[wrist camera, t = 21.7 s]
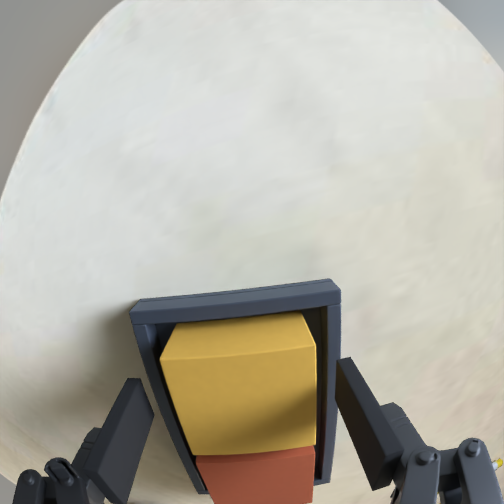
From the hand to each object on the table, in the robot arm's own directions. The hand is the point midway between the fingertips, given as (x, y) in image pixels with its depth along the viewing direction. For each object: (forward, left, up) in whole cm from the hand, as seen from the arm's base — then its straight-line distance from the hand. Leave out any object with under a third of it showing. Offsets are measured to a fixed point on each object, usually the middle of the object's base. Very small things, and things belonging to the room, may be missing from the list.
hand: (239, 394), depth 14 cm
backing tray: (+4, 0, -3) cm, 6 cm away
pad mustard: (0, 0, -3) cm, 3 cm away
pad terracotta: (+8, 0, -3) cm, 9 cm away
